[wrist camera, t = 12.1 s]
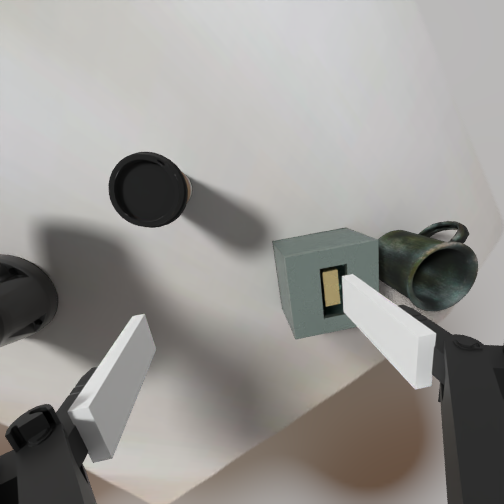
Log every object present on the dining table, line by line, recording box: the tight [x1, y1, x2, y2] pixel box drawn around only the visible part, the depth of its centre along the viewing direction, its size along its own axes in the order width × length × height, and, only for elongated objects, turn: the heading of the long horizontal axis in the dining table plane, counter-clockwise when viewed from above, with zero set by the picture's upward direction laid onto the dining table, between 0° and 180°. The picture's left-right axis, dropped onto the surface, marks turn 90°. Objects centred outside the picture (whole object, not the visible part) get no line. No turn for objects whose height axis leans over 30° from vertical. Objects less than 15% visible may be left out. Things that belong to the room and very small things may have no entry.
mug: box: [378, 221, 478, 311], centre depth 41 cm, size 11×15×12 cm
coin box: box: [272, 228, 379, 339], centre depth 41 cm, size 14×14×10 cm
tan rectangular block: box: [320, 266, 340, 307], centre depth 42 cm, size 2×6×8 cm, turn 10°
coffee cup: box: [109, 152, 192, 228], centre depth 33 cm, size 8×8×15 cm
